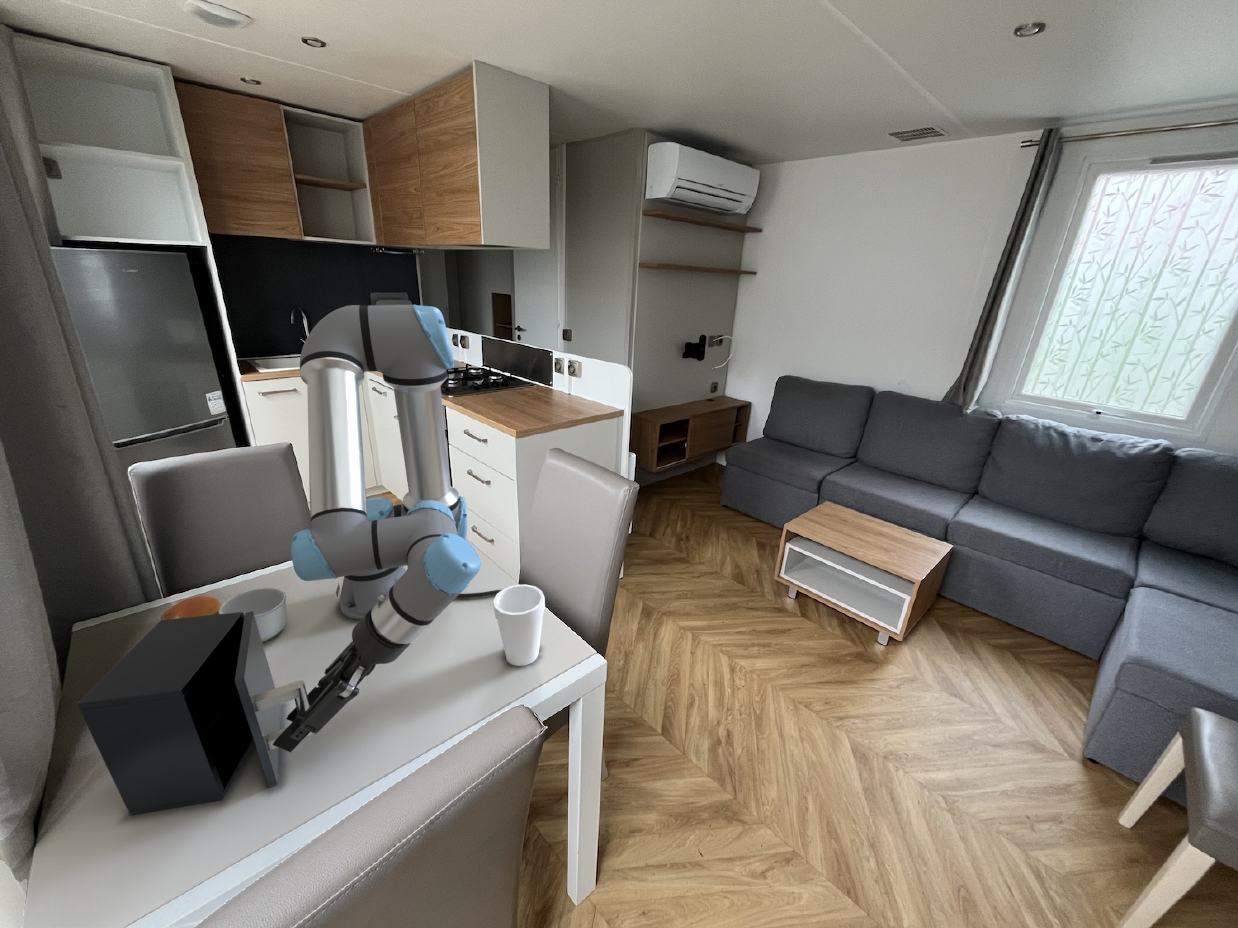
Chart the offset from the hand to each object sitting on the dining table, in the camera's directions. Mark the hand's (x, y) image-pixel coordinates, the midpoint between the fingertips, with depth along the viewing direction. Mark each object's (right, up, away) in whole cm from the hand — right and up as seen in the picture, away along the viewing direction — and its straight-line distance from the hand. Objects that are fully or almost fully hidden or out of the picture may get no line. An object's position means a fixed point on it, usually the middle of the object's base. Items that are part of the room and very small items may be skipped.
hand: (289, 732), depth 72 cm
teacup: (-25, +4, +27) cm, 37 cm away
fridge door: (-3, -4, +6) cm, 8 cm away
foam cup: (+29, +2, +25) cm, 38 cm away
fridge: (-14, -5, +3) cm, 15 cm away
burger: (-40, +6, +31) cm, 51 cm away
